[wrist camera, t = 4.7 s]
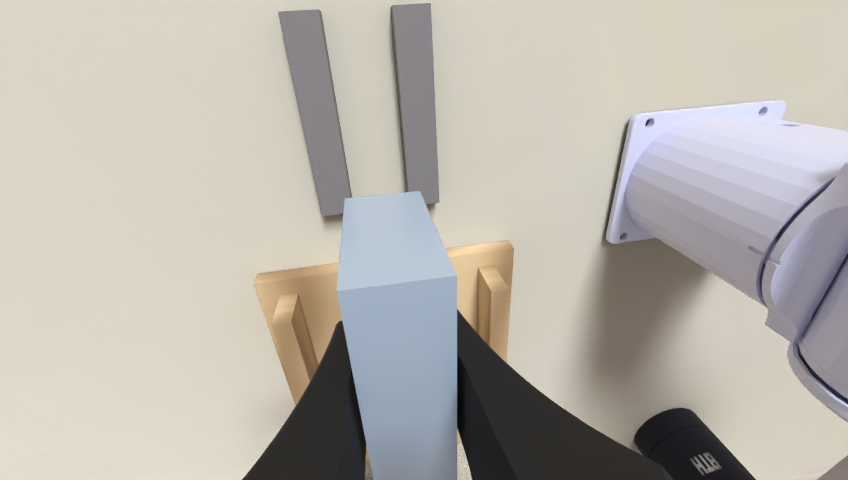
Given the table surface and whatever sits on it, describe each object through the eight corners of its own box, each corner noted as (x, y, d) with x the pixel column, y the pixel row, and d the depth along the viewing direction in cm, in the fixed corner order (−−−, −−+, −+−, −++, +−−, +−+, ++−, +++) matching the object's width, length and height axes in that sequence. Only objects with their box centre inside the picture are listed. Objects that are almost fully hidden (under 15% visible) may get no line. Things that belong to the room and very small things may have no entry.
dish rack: (507, 240, 22) (531, 270, 19) (497, 424, 31) (512, 465, 28) (257, 273, 21) (240, 312, 18) (319, 458, 29) (315, 505, 26)
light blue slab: (419, 191, 12) (457, 275, 7) (428, 367, 15) (457, 493, 11) (344, 198, 11) (336, 291, 7) (372, 376, 15) (378, 508, 11)
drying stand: (426, 5, 16) (430, 3, 15) (435, 195, 20) (439, 202, 19) (282, 13, 15) (277, 11, 14) (323, 209, 20) (321, 216, 19)
